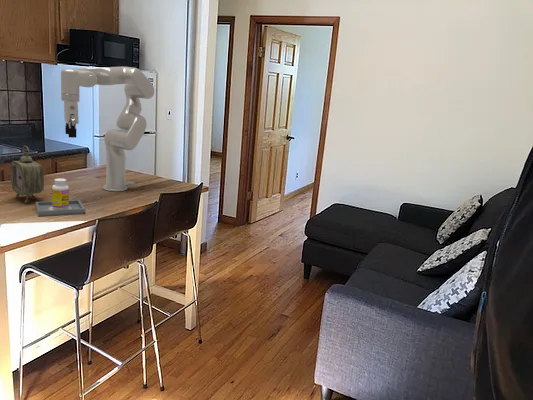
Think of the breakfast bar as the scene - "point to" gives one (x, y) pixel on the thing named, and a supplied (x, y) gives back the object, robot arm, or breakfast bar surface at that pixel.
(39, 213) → the tray
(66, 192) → the supplement bottle
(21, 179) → the tabletop clock
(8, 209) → the breakfast bar surface
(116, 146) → the robot arm
